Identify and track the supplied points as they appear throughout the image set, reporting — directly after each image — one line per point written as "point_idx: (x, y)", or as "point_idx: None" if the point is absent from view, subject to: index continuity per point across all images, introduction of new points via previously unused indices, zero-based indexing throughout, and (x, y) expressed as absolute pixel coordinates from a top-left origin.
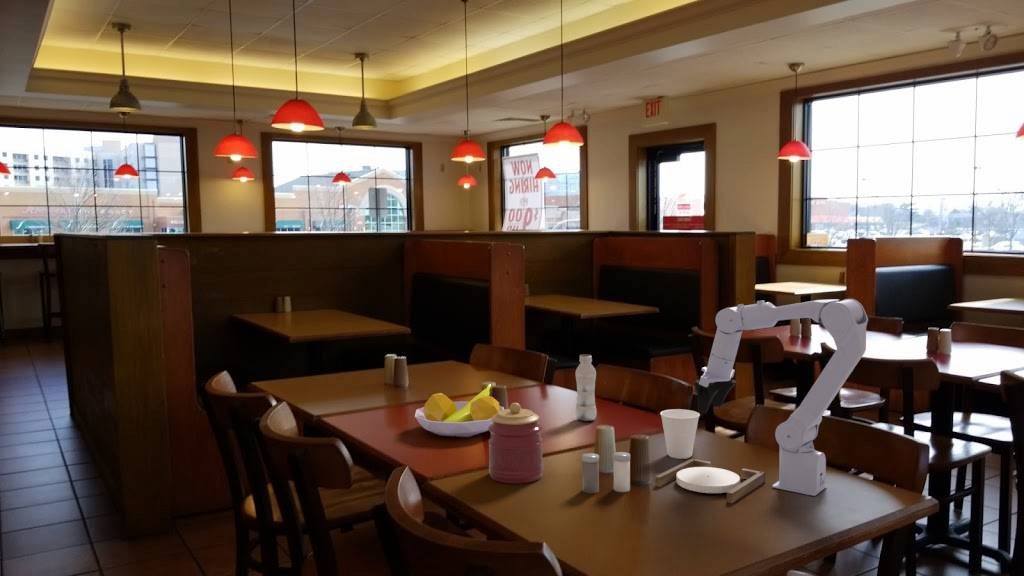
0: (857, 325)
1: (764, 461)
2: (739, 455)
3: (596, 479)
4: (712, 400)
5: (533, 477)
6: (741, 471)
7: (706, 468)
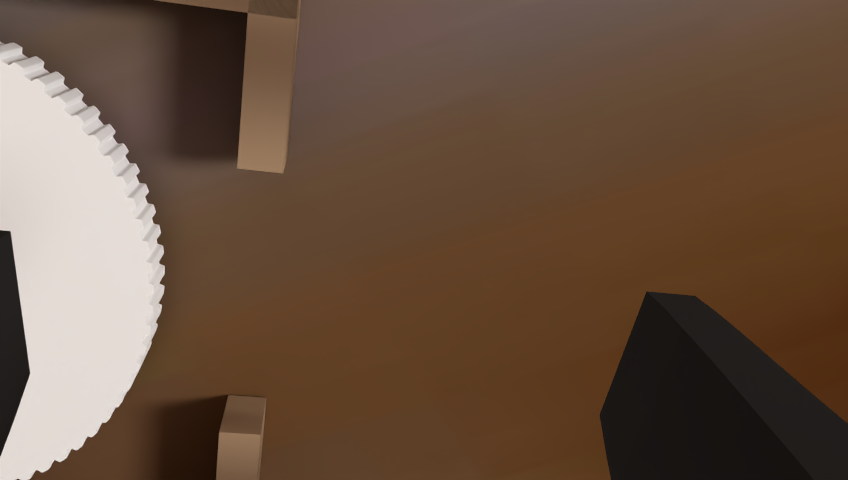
0: None
1: None
2: (801, 207)
3: None
4: (671, 343)
5: None
6: (221, 425)
7: (80, 196)
